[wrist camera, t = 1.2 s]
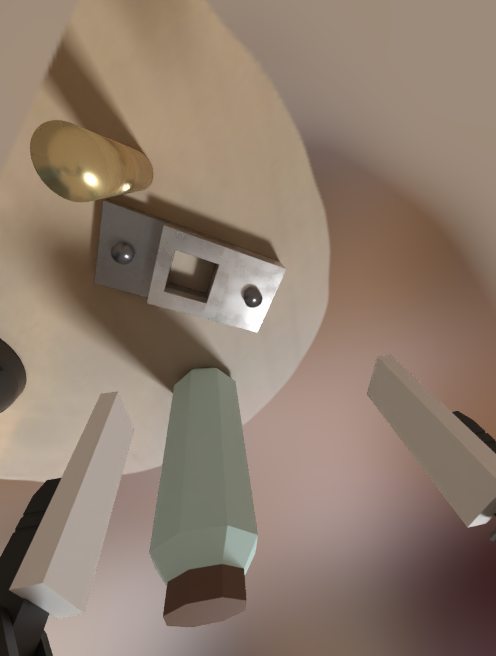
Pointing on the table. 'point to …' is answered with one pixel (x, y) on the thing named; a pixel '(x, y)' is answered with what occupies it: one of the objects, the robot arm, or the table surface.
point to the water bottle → (204, 504)
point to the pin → (86, 163)
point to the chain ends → (156, 259)
